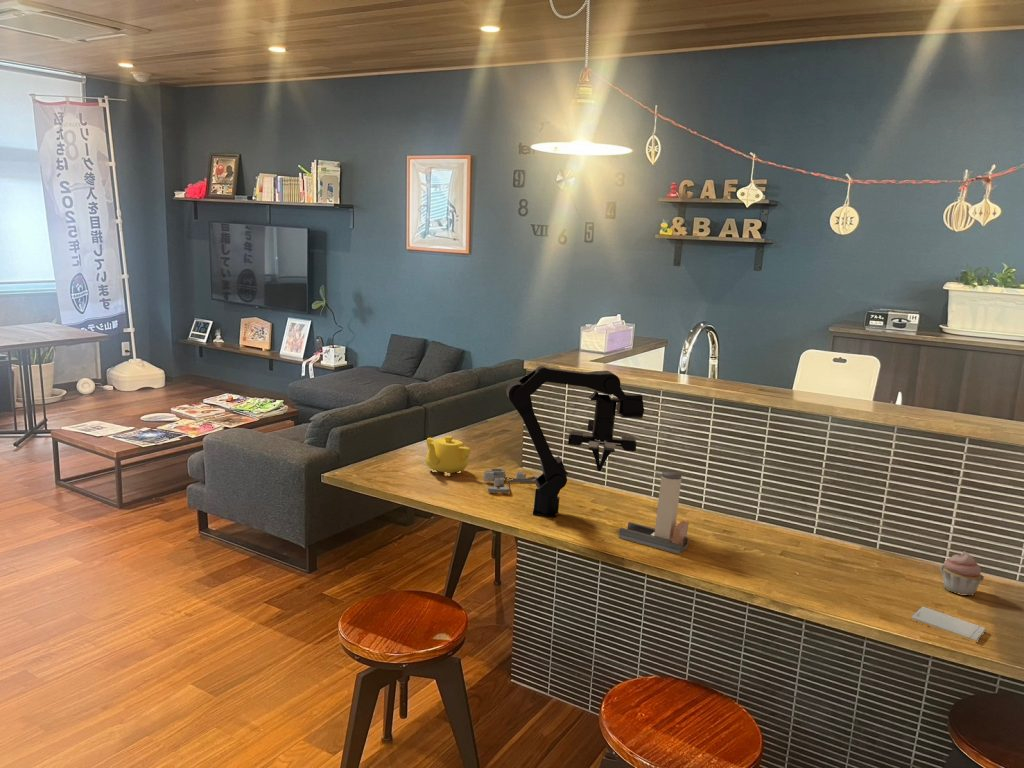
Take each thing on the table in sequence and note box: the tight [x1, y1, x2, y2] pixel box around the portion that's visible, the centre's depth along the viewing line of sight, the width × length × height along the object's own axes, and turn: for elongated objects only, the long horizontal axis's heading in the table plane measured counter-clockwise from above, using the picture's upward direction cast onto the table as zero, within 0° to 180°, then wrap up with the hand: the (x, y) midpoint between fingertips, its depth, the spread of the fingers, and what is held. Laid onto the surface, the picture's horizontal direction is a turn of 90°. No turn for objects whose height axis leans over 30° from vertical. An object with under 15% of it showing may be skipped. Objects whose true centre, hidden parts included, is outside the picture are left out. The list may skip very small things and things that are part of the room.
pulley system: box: [483, 468, 541, 494], centre depth 237 cm, size 27×5×15 cm
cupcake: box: [939, 550, 985, 595], centre depth 179 cm, size 9×9×10 cm
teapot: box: [425, 435, 471, 474], centre depth 243 cm, size 14×14×12 cm
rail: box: [617, 520, 690, 555], centre depth 195 cm, size 16×7×6 cm, turn 59°
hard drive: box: [910, 606, 987, 641], centre depth 160 cm, size 2×8×12 cm
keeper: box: [651, 469, 682, 541], centre depth 192 cm, size 6×5×18 cm
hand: (599, 470), depth 211 cm, fingers closed
